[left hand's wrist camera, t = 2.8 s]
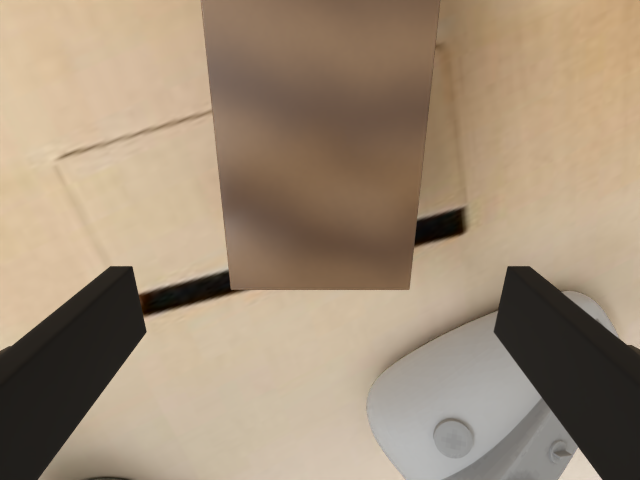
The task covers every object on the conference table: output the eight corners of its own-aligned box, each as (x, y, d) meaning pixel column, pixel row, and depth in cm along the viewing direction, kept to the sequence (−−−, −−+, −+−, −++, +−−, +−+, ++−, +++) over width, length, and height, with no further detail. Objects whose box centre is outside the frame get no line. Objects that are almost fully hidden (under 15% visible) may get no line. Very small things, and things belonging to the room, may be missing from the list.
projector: (548, 453, 42) (660, 626, 28) (352, 445, 41) (369, 618, 27) (618, 286, 33) (823, 416, 20) (374, 274, 33) (413, 399, 19)
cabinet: (243, -71, 24) (178, -215, 13) (396, -70, 24) (463, -215, 13) (261, 222, 31) (230, 290, 20) (377, 222, 31) (409, 290, 20)
